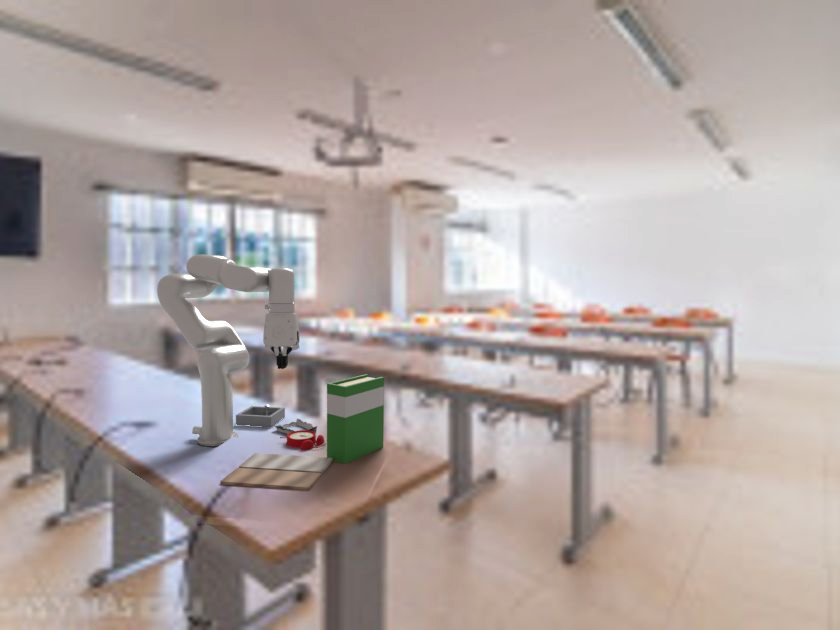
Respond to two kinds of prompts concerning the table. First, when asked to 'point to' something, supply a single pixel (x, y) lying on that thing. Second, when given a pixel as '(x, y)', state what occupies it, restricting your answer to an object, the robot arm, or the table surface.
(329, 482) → the table surface
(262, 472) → the walnut plank
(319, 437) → the alarm clock
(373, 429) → the hardback book
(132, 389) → the table surface
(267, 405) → the bacteriophage
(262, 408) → the grey tray
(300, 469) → the grey oak plank
